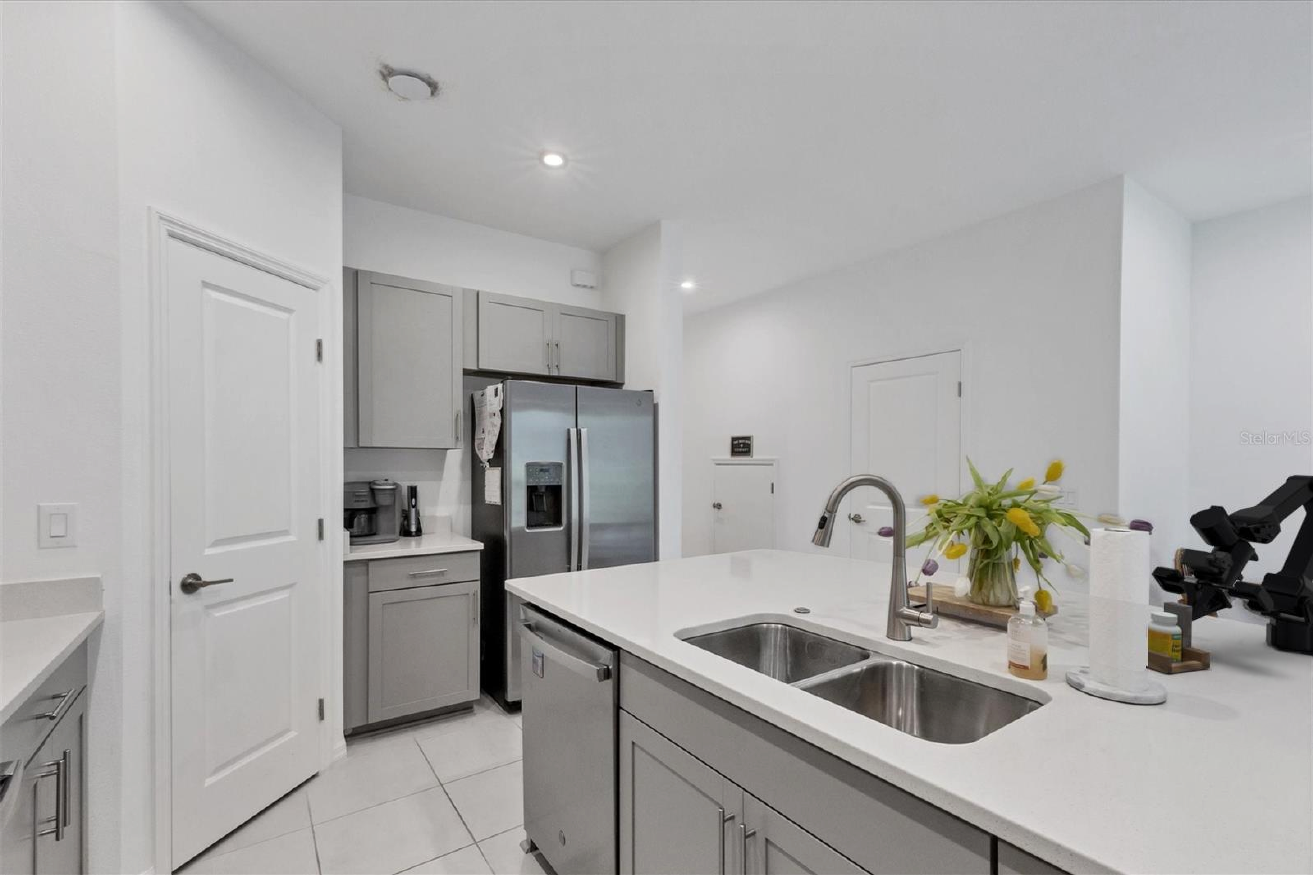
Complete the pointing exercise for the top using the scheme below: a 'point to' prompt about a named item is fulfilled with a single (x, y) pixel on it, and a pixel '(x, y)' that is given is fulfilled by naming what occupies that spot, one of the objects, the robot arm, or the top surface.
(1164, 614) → the supplement bottle
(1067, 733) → the top surface
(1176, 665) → the wooden display stand
